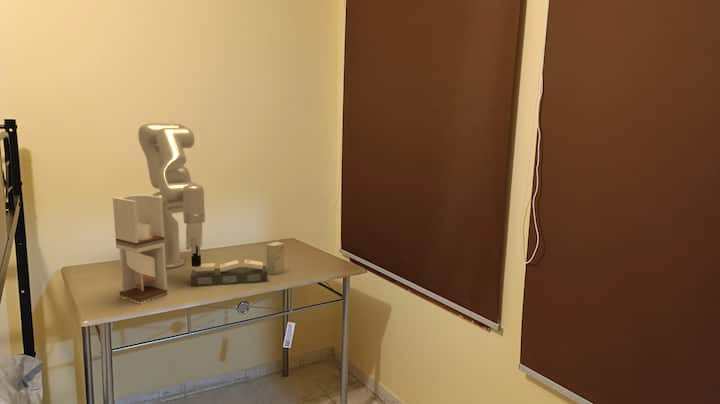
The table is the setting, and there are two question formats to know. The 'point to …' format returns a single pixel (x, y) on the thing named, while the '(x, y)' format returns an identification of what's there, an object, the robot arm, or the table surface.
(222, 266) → the cream flat rectangular block
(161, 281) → the display case
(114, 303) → the table surface
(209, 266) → the rocker
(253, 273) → the power strip
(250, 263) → the rocker
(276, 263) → the skincare box
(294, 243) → the table surface
